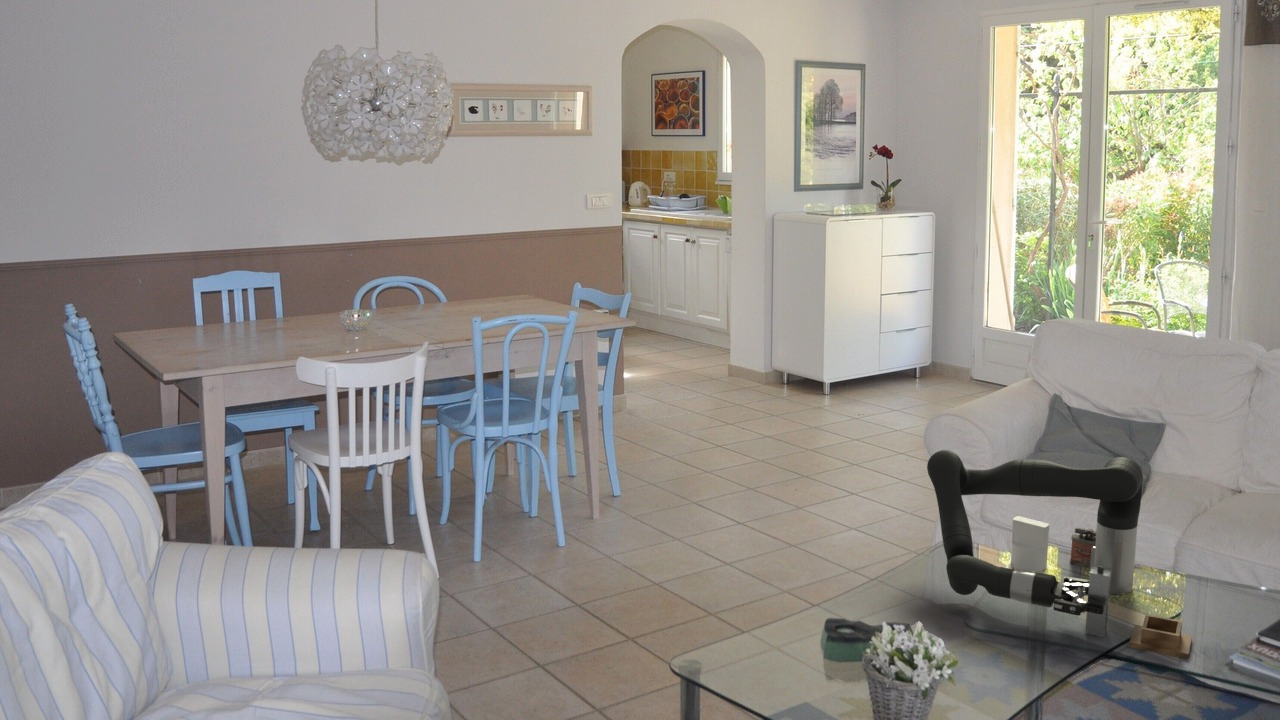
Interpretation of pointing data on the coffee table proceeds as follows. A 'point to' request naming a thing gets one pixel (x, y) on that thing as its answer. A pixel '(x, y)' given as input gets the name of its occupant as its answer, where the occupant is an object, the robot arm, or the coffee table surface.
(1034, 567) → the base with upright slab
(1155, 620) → the brown open box stand
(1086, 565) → the lighter
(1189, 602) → the coffee table surface
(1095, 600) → the tall gray rectangular post
